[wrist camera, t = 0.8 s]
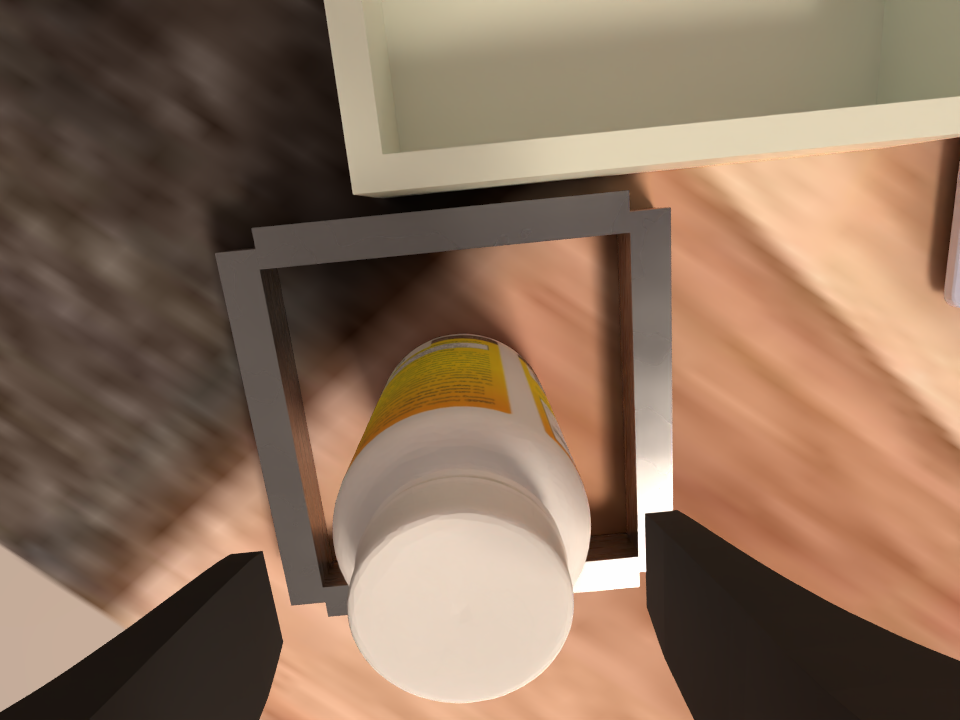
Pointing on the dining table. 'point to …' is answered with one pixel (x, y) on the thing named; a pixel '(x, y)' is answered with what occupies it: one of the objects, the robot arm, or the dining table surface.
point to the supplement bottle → (461, 525)
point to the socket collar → (258, 286)
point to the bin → (630, 85)
